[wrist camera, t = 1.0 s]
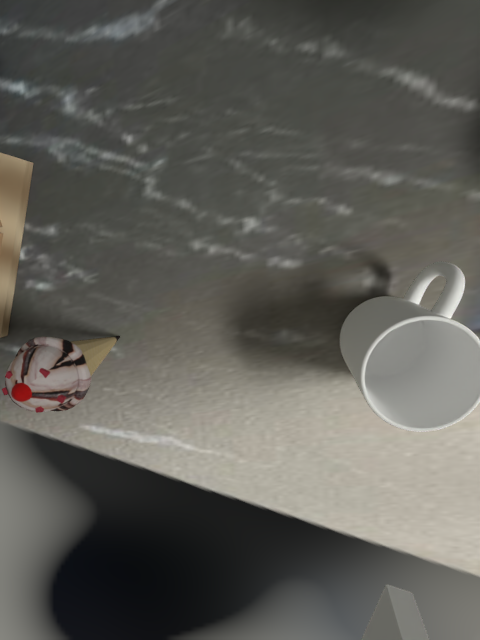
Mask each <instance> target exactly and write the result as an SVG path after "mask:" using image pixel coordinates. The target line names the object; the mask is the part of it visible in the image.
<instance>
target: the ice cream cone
mask: <svg viewBox="0 0 480 640" xmlns="http://www.w3.org/2000/svg"><path fill="white" fill-rule="evenodd" d="M119 338H120V336H116V337H107V338H98V339H89V340H80V341H71V342H69V341H67V340H63V339H60V338H53V337H37V338H34V339H32V340H30V341H28V342H27V343H25V344H24V345H23V346H22V347H21V348H20V350H19V351H18V353H17V355H16V357H15V359H14V360H13V361H12V362H11V364H10V366H9V368H8V370H7V373H6V376H5V377H6V380H5V385H6V387H5V388H3V389H2V391H3V393H4V395H7V394H9V396H10V398H11V399H12V401H13V402H14V403H16V404H17V405H18V406H20V407H22V408H24V409H27V410H30V411H36V412H45V411H63V410H68V409H70V408H72V407H74V406H75V405H77V404H78V403H79V402H80V401H81V400H82V399H83V398H84V396H85V395H86V393H87V391H88V389H89V386H90V382H91V375H92V374H93V373H94V371H95V370H96V369H97V367H98V366H99V365H100V363H101V362H102V361H103V359H104V358H105V357H106V355H107V354H108V353H109V351H110V350H111V349H112V347H113V346H114V344H115V343H116V342H117V340H118V339H119Z"/></svg>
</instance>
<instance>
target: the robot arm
mask: <svg viewBox="0 0 480 640" xmlns="http://www.w3.org/2000/svg"><path fill="white" fill-rule="evenodd" d="M361 640H429V637H428V634H427V632H426V629H425V626H424V623H423V621H422V618H421V615H420V612H419V610H418V607H417V604H416V601H415V598H414V596H413V593H412V592H409V591H406V590H403V589H400V588H397V587H394V586H390V585H387V584H386V586H385V588H384V590H383V592H382V595H381V597H380V599H379V602H378V603H377V606H376V608H375V610H374V613H373V615H372V617H371V619H370V621H369V624H368V626H367V628H366V630H365V633H364V635H363V637H362V639H361Z"/></svg>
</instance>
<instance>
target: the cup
mask: <svg viewBox="0 0 480 640" xmlns="http://www.w3.org/2000/svg"><path fill="white" fill-rule="evenodd" d="M439 275H441V276H444V277H445V279H446V285H445V287H444V290H443V292H442V293H441V295H440V297H439V299H438V300H437V302H436V303H435V305H434V307H433V308H432V310H429V309H427V308H425V307H423V306H420V305H419V303H420V300H421V298H422V296H423V294H424V292H425V290H426V288H427V287H428V285H429V284H430V282H431V281H432V280H433V279H434V278H435V277H437V276H439ZM464 287H465V278H464V275H463V273H462V271H461V270H460V269H459V268H458V267H457V266H455V265H454V264H452V263H449V262H436V263H433V264H430V265H429V266H427V267H426V268H424V269H423V270H422V271H421V272H420V273H419V274H418V275H417V277H416V278H415V279H414V281H413V282H412V284H411V285H410V287H409V289H408V291H407V292H406V294H405V296H404V298H399V297H393V296H381V297H376V298H372V299H369V300H367V301H365V302H363V303H361V304H360V305H358V306H357V307H356V308H355V309H353V310H352V311H351V313H350V314H349V315H348V316H347V318H346V319H345V321H344V323H343V326H342V328H341V332H340V349H341V353H342V356H343V358H344V360H345V362H346V364H347V366H348V368H349V370H350V372H351V374H352V376H353V377H354V379H355V381H356V383H357V385H358V387H359V389H360V391H361V392H362V394H363V396H364V398H365V400H366V402H367V403H368V405H369V407H370V408H371V409H372V410H373V412H374V413H375V414H376V415H377V416H379V417H380V418H381V419H382V420H384V421H385V422H387V423H389V424H390V425H393V426H395V427H397V428H400V429H404V430H408V431H416V432H427V431H435V430H439V429H443V428H446V427H449V426H451V425H453V424H455V423H457V422H459V421H460V420H462V419H463V418H465V417H466V416H467V415H468V414H470V413H471V412H472V411H473V410H474V409H475V407H476V406H477V405H478V404H479V402H480V340H479V338H478V337H477V336H476V335H475V334H474V333H473V332H472V331H471V330H470V329H468V328H467V327H466V326H464V325H462V324H461V323H459V322H456V321H454V320H452V319H450V318H451V317H452V315H453V313H454V311H455V309H456V308H457V306H458V304H459V302H460V300H461V297H462V295H463V292H464Z"/></svg>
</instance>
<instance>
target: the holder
mask: <svg viewBox="0 0 480 640" xmlns="http://www.w3.org/2000/svg"><path fill="white" fill-rule="evenodd" d="M32 170H33V163H32V162H29V161H25V160H22V159H19V158H16V157H13V156H9V155H6V154H3V153H0V338H2V337H5V336H8V329H9V322H10V316H11V309H12V303H13V296H14V289H15V283H16V276H17V269H18V263H19V256H20V249H21V243H22V236H23V229H24V223H25V216H26V209H27V203H28V196H29V190H30V183H31V176H32Z"/></svg>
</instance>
